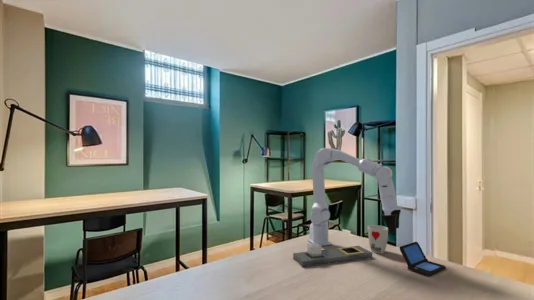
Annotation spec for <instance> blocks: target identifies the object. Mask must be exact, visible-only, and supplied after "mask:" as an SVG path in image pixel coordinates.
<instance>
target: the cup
mask: <svg viewBox="0 0 534 300" xmlns="http://www.w3.org/2000/svg"><path fill="white" fill-rule="evenodd" d="M388 233H389V230H388V227H387V226H384V225H378V224H377V225H376V224H373V225H372V224H371V225H370V224H369V225H368V226H367V238H368V243H369V247H370V250H371V251H370V252H372V251H373V252H372V253H374V252H375V254H385V252H386V249H387V244H388V239H389V234H388Z"/></svg>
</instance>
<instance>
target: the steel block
mask: <svg viewBox="0 0 534 300" xmlns="http://www.w3.org/2000/svg"><path fill="white" fill-rule="evenodd" d="M306 246H307V247H306V248H307V251H306V252H307V256H308V257H310V258H311V259H312V258H320V257H322V255H321V250H322V246H320V245H319V244H317V243H307V245H306Z"/></svg>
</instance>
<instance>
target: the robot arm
mask: <svg viewBox="0 0 534 300" xmlns="http://www.w3.org/2000/svg"><path fill="white" fill-rule="evenodd" d="M338 160H339V161H343V162H345V163H347V164H350V165H353V166H355V167H357V168H358V169H357V170H358V171H359V172H361V173H363V174H366V175H369V176H371V177H372V178H373V177H374V178H375V179H376V181H377V183H378V184H377V185H378V190H379V197H380V201H381V206H382V211H383V213H384V214H383V213H382V214H381V218H382V220H383V221H384V223H385V225H386V227H387V228H388V233H391V234H394V233H397V229H399V228H400V215H401V209H402V206H401V205H398V200H397V195H396V191H395V184H394V181H393V178H392V177H393V171H392V168H391V167H388V166H386V165H383V164H382V163H377V162H375V161H372V159H371V158H369V157H368V158H363V159H359V158H358V157H355V156H353V155H351V154H349V153H347V152H345V151H342V150H340V149H335V148H333V147H329V148H327V147H322V148H320V149H319V150H317V152H315V157H314V159H313V161H312V164H311V173H312V174H311V175H312V176H311V177H312V191H313V204H312V207H311V213H310V214H309V219H310V221H311V223H310V225H309V229H308V230H309V238H308V239H307V241H308V242H310V244H312V243H317V244H319V245H320V246H321V247H323V246H325V247H326V246H331V245H333V243H332V242H330V241H329V222H328V221H329V219H330V218H331V212H330V210H329V205H328V204H327V202H326V188H325V168H326V167H327V166H329V164H331V163H333V162H335V161H338Z"/></svg>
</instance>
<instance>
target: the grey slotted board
mask: <svg viewBox="0 0 534 300" xmlns="http://www.w3.org/2000/svg"><path fill="white" fill-rule="evenodd" d="M321 255H322V257H320V258H312V259H311V258H310V257H308V256H307V251H302V252H301V251H300V252H293V253H292V258H293V260H294V261H296V263H297V264H298V265H299V266H301V267H302V268H306V267H313V266H315V267H316V266H320V265H321V266H322V265H329V263H330V264H335V263H336V262H337V263H342V262H343V263H344V261H345V262H350V261H351V262H352V261H359V260H366V259H372V258H373V252H372V251H369V250H368V249H366V248H364V247H363V246H360V245H351V246H345V247H343V246H342V247H336V248H327V249H321Z"/></svg>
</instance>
